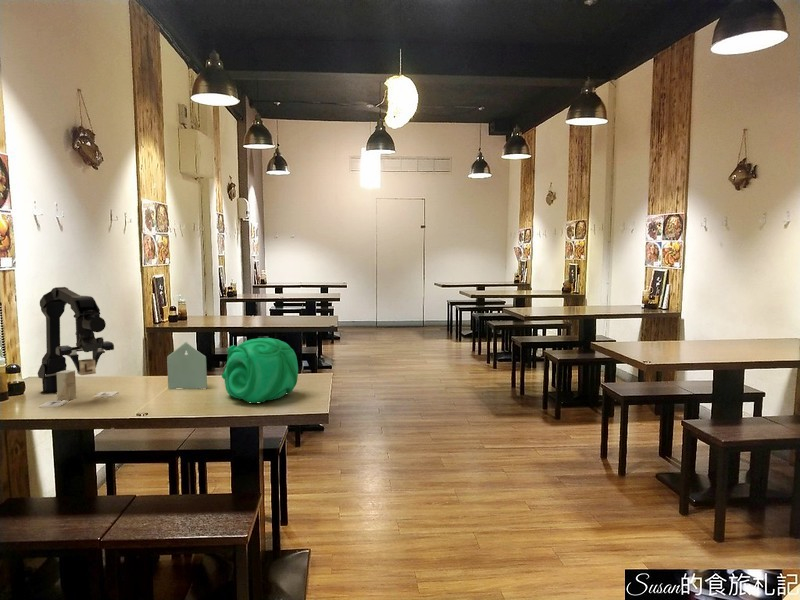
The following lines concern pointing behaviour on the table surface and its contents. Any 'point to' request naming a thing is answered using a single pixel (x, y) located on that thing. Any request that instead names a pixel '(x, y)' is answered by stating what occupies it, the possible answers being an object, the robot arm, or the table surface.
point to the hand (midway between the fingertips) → (86, 370)
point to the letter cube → (87, 367)
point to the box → (66, 385)
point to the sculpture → (260, 370)
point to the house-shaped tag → (186, 368)
